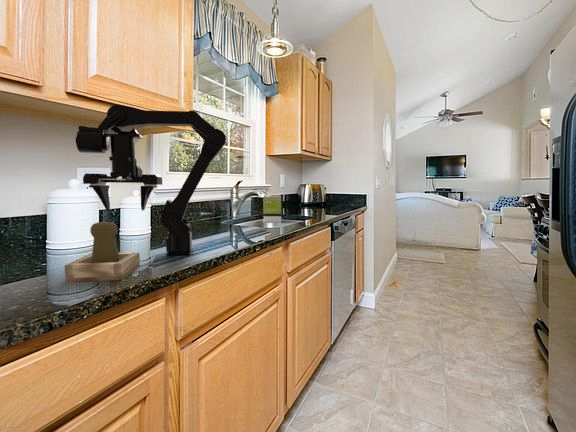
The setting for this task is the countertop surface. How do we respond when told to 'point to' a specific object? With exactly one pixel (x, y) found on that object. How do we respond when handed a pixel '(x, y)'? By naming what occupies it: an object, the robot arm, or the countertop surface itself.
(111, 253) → the brown toast slice
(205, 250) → the countertop surface
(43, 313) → the countertop surface
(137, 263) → the wooden tray
